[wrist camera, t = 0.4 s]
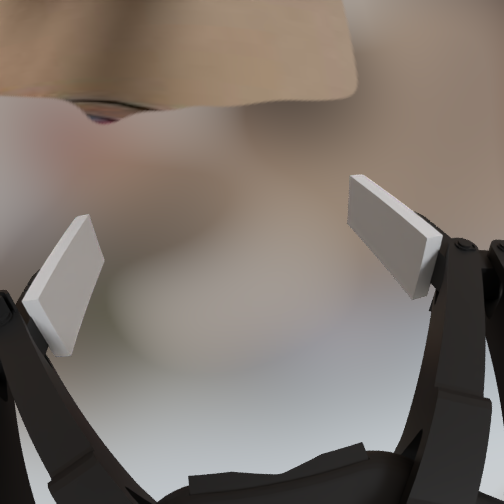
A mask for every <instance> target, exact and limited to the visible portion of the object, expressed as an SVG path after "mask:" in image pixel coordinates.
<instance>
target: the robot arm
mask: <svg viewBox="0 0 504 504" xmlns="http://www.w3.org/2000/svg"><path fill="white" fill-rule="evenodd" d="M347 224H348V225H349V226H350V227H351V228H352V229H353V231H354V232H355V233H356V234H357V235H358V236H359V237H360V238H361V240H362V241H363V242H364V243H365V244H366V245H367V246H368V247H369V248H370V250H371V251H372V252H373V253H374V254H375V256H376V257H377V258H378V259H379V260H380V261H381V263H382V264H383V265H384V266H385V267H386V269H387V270H388V271H389V272H390V273H391V275H393V277H394V278H395V279H396V281H397V282H398V283H399V284H400V285H401V287H402V288H403V289H404V290H405V292H406V293H407V294H408V295H409V297H410V298H411V299H412V300H414V299H417V298H421V297H424V296H427V294H428V291H429V287H430V284H432V285H433V286H434V287H435V288H436V291H435V294H434V297H433V300H432V303H431V306H430V309H429V311H431V318H430V324H429V330H428V335H427V341H426V346H425V351H424V356H423V360H422V365H421V369H420V374H419V378H418V382H417V386H416V390H415V394H414V398H413V402H412V405H411V408H410V412H409V415H408V418H407V422H406V425H405V428H404V431H403V434H402V437H401V439H400V441H399V443H398V445H397V447H396V449H395V451H394V453H392V452H386V451H366V450H365V448H364V445H363V443H362V442H361V443H358V444H355V445H352V446H348V447H345V448H341V449H338V450H335V451H331V452H328V453H324V454H321V455H319V456H317V457H315V458H314V459H312V460H310V461H308V462H305V463H303V464H301V465H300V466H297V467H295V468H293V469H291V470H289V471H287V472H285V473H282V474H274V475H273V474H253V473H238V472H226V473H217V474H207V475H195V476H188V478H189V486H186V487H183V488H181V489H178V490H176V491H174V492H172V493H170V494H168V495H167V496H165V497H164V498H162V499H161V500H160V501H158V502H156V501H155V500H154V499H153V498H152V497H151V496H150V495H149V494H147V493H146V492H145V491H144V490H143V489H142V488H141V487H140V486H139V485H138V484H137V483H136V482H135V481H134V479H133V478H132V477H131V476H130V475H129V474H128V473H127V471H126V470H125V469H124V468H123V467H122V466H121V464H120V463H119V462H118V461H117V459H116V458H115V457H114V456H113V454H112V453H111V452H110V451H109V449H108V448H107V447H106V446H105V445H104V443H103V442H102V440H101V439H100V438H99V436H98V435H97V434H96V432H95V431H94V429H93V428H92V427H91V425H90V424H89V422H88V421H87V420H86V418H85V417H84V415H83V414H82V412H81V411H80V409H79V408H78V406H77V405H76V403H75V402H74V400H73V398H72V397H71V395H70V394H69V392H68V391H67V389H66V387H65V386H64V384H63V382H62V381H61V379H60V377H59V375H58V374H57V372H56V370H55V369H54V367H53V365H52V363H51V361H50V360H49V358H48V357H47V356H46V351H47V348H48V346H49V348H50V349H51V351H52V352H53V354H54V355H55V357H62V356H71V355H72V352H73V348H74V345H75V342H76V338H77V335H78V332H79V329H80V326H81V323H82V320H83V317H84V314H85V311H86V309H87V306H88V303H89V300H90V297H91V295H92V292H93V289H94V287H95V284H96V282H97V279H98V276H99V273H100V271H101V269H102V266H103V264H104V261H105V260H104V258H103V255H102V252H101V249H100V246H99V243H98V240H97V237H96V234H95V231H94V228H93V225H92V222H91V218H90V215H89V214H87V215H82V216H78V217H76V218H75V219H74V220H73V222H72V223H71V225H70V226H69V227H68V229H67V230H66V232H65V233H64V235H63V236H62V237H61V239H60V240H59V242H58V243H57V245H56V246H55V248H54V249H53V251H52V252H51V254H50V255H49V257H48V258H47V260H46V262H45V263H44V265H43V266H42V268H41V269H39V270H38V271H37V273H35V274H34V275H33V276H32V278H31V279H30V281H29V282H28V286H26V287H25V289H24V292H22V294H21V296H20V298H19V299H18V301H17V303H16V305H15V304H14V302H13V300H12V298H11V296H10V294H9V293H8V291H7V290H0V504H35V501H34V498H33V494H32V491H31V487H30V483H29V479H28V475H27V471H26V467H25V462H24V458H23V453H22V448H21V443H20V437H19V431H18V425H17V418H16V410H15V403H16V405H17V408H18V410H19V413H20V415H21V417H22V420H23V422H24V425H25V427H26V429H27V431H28V434H29V436H30V438H31V440H32V442H33V444H34V446H35V448H36V450H37V452H38V454H39V456H40V458H41V460H42V462H43V464H44V466H45V468H46V469H47V471H48V473H49V475H50V477H51V481H50V482H49V483H48V489H49V491H50V493H51V495H52V497H53V498H54V500H55V501H56V503H57V504H504V501H502V500H499V499H497V498H494V497H492V496H489V495H486V494H484V493H482V492H480V491H479V487H480V483H481V478H482V474H483V469H484V464H485V458H486V452H487V446H488V439H489V432H490V423H491V414H492V402H491V400H490V399H488V398H484V396H483V395H484V394H483V392H484V377H485V336H486V340H487V343H488V347H489V351H490V355H491V359H492V363H493V367H494V372H495V377H496V382H497V387H498V392H499V397H500V403H501V410H502V416H503V424H504V240H493V241H492V242H491V245H490V248H489V251H486V250H478V247H477V246H476V245H475V244H474V243H472V242H471V241H469V240H466V239H463V238H450V237H449V236H448V235H447V234H446V233H444V232H443V231H442V230H441V229H440V228H438V227H436V225H434V224H433V223H432V222H430V220H428V219H427V218H426V217H424V216H423V215H421V214H419V213H416V212H414V211H412V210H411V209H409V208H408V207H407V206H406V205H404V204H403V203H402V202H400V201H399V200H398V199H396V198H395V197H394V196H392V195H391V194H390V193H388V192H387V191H385V190H384V189H383V188H381V187H380V186H379V185H377V184H376V183H374V182H373V181H371V180H370V179H369V178H367V177H366V176H364V175H351V176H350V181H349V204H348V220H347ZM14 400H15V401H14Z"/></svg>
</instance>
